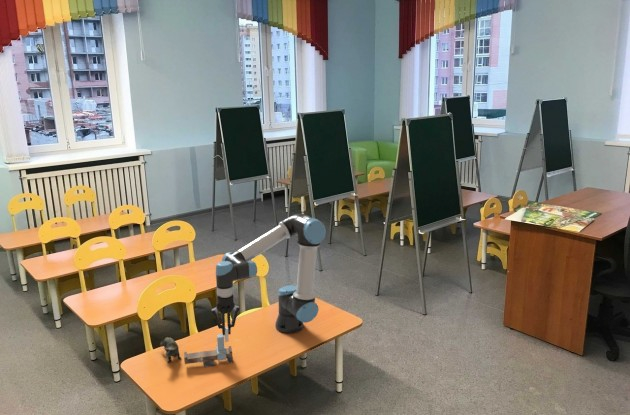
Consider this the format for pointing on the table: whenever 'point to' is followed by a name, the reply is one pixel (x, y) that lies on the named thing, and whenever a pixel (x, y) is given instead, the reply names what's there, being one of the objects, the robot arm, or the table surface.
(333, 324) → the table surface
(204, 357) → the beam
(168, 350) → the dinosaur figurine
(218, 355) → the rider
